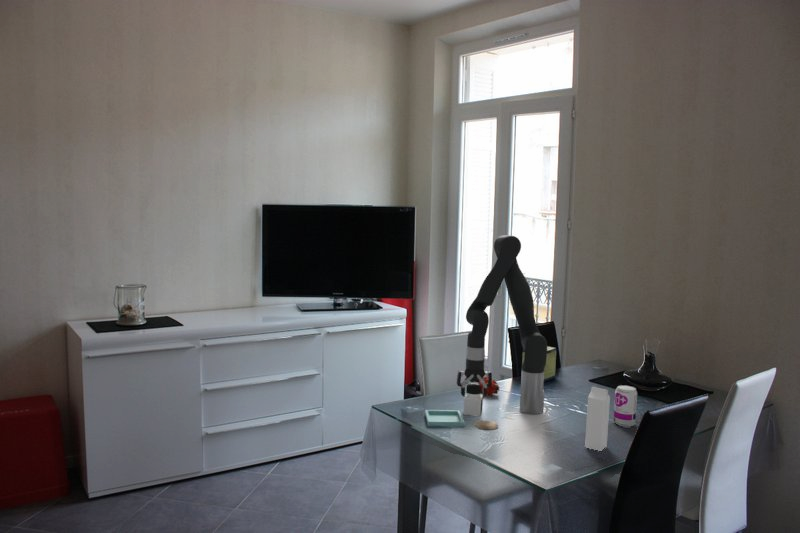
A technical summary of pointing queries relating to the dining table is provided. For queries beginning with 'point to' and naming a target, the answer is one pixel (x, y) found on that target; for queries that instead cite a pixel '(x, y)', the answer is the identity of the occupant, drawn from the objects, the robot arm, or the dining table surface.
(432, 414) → the tray
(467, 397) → the medicine bottle
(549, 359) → the protein box
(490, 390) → the dragon fruit
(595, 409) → the milk
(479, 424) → the cork coaster
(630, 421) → the supplement can
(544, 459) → the dining table surface
